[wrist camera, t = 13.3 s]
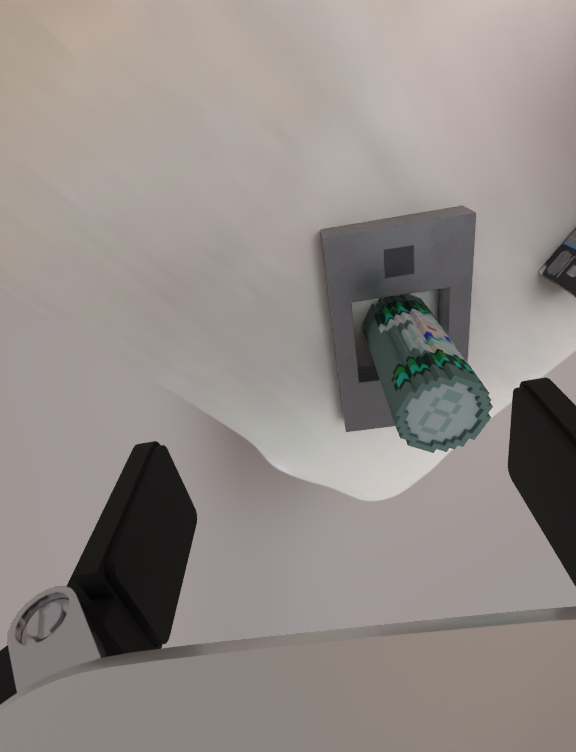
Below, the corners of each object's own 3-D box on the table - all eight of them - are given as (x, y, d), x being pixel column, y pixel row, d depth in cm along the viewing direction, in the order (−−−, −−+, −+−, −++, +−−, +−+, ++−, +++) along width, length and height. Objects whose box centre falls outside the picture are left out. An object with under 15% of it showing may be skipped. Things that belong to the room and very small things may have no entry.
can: (440, 305, 40) (509, 393, 28) (409, 358, 43) (458, 460, 31) (381, 284, 39) (425, 365, 27) (354, 340, 42) (381, 437, 29)
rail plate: (462, 205, 36) (476, 212, 33) (454, 400, 46) (464, 418, 43) (320, 229, 37) (322, 238, 34) (343, 414, 47) (346, 432, 44)
